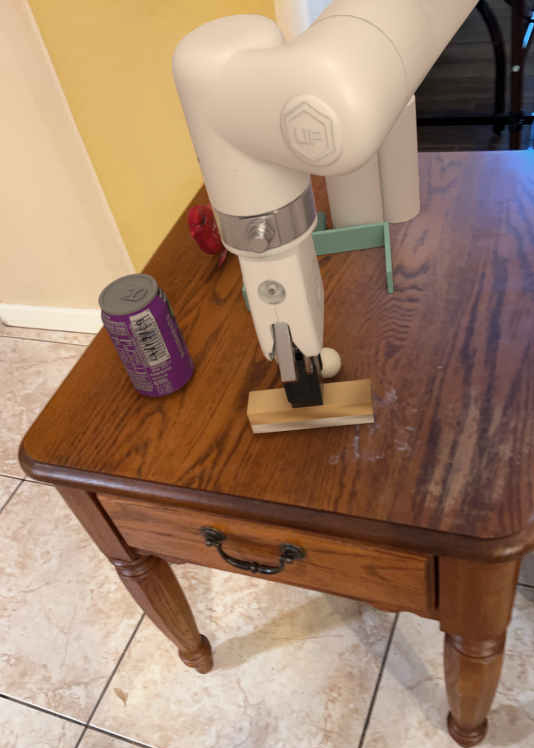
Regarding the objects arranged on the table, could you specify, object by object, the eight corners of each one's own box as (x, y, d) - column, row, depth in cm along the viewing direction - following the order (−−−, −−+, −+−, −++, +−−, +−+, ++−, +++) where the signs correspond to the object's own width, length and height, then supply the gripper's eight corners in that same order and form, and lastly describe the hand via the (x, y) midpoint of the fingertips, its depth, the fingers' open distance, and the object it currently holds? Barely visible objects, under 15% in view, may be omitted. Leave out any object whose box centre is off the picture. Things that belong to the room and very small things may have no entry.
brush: (373, 400, 69) (362, 321, 62) (374, 422, 68) (363, 344, 60) (255, 412, 72) (231, 337, 64) (253, 433, 70) (228, 360, 62)
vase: (349, 248, 87) (326, 80, 72) (322, 223, 92) (295, 61, 77) (427, 211, 89) (421, 39, 73) (397, 189, 93) (385, 23, 78)
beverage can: (205, 359, 80) (172, 271, 71) (181, 404, 76) (143, 317, 67) (151, 354, 82) (112, 269, 73) (125, 398, 78) (81, 313, 69)
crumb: (343, 362, 75) (339, 339, 72) (342, 383, 73) (338, 360, 70) (313, 365, 75) (308, 342, 73) (312, 386, 73) (307, 363, 71)
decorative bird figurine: (199, 292, 88) (175, 221, 80) (235, 211, 98) (217, 142, 91) (220, 291, 87) (198, 220, 80) (255, 210, 97) (237, 140, 90)
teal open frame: (388, 217, 90) (387, 195, 87) (393, 292, 80) (391, 271, 78) (258, 236, 93) (253, 216, 91) (247, 311, 84) (241, 290, 81)
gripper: (311, 270, 47) (345, 447, 61) (317, 147, 57) (345, 324, 71) (203, 285, 48) (261, 455, 62) (227, 163, 58) (272, 333, 72)
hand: (305, 384), depth 66 cm, fingers closed on brush, 3 cm apart
